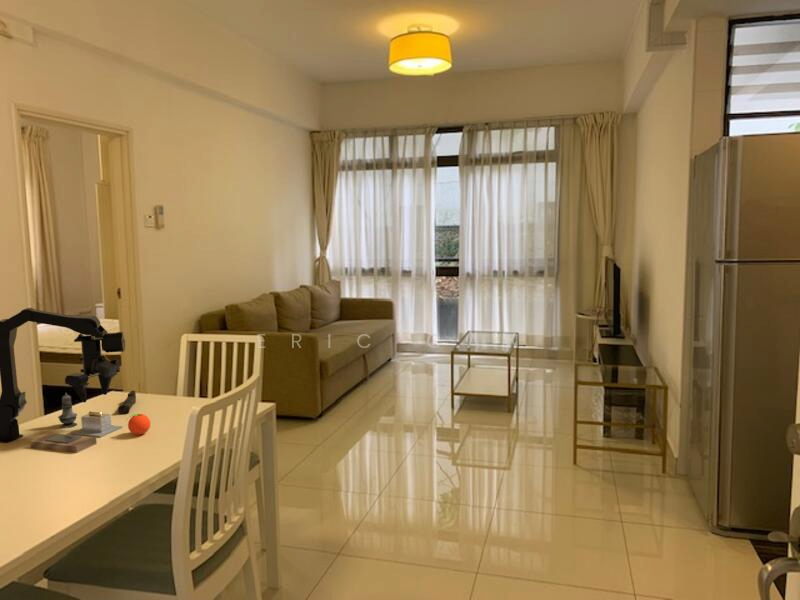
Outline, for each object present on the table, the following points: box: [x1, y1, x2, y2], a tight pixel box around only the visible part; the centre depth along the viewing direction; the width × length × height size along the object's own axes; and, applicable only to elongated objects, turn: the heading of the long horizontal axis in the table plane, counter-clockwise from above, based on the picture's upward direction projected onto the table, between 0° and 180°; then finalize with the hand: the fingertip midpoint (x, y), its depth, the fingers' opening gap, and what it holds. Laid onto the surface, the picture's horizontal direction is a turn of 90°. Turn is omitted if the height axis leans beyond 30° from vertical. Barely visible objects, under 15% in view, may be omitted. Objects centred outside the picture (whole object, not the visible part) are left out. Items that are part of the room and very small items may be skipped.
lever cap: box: [80, 411, 112, 433], centre depth 203 cm, size 8×4×6 cm, turn 75°
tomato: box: [125, 413, 151, 436], centre depth 200 cm, size 8×7×7 cm
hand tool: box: [117, 390, 137, 415], centre depth 230 cm, size 19×4×5 cm, turn 10°
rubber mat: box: [70, 424, 123, 438], centre depth 203 cm, size 12×10×1 cm
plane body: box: [30, 432, 97, 454], centre depth 190 cm, size 18×8×2 cm, turn 75°
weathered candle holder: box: [58, 392, 78, 429], centre depth 208 cm, size 6×6×12 cm
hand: (95, 398), depth 202 cm, fingers open, 9 cm apart
